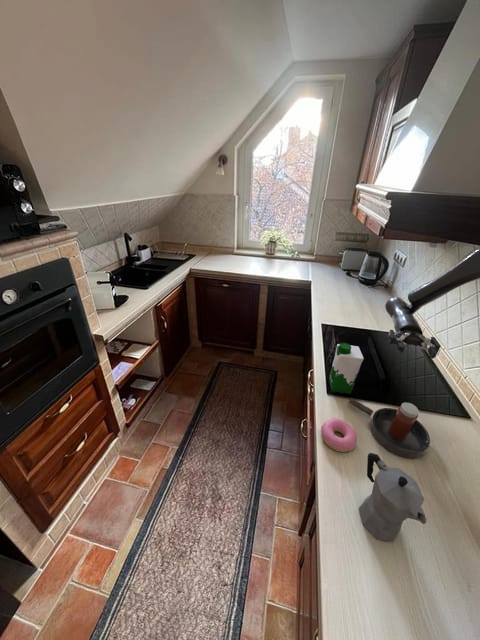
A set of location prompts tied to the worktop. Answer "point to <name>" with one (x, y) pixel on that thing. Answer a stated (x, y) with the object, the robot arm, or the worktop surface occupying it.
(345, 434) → the doughnut
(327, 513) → the worktop surface
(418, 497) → the coffeepot
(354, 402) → the pan handle
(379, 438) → the pan
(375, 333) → the worktop surface
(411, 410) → the shaker
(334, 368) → the milk carton
